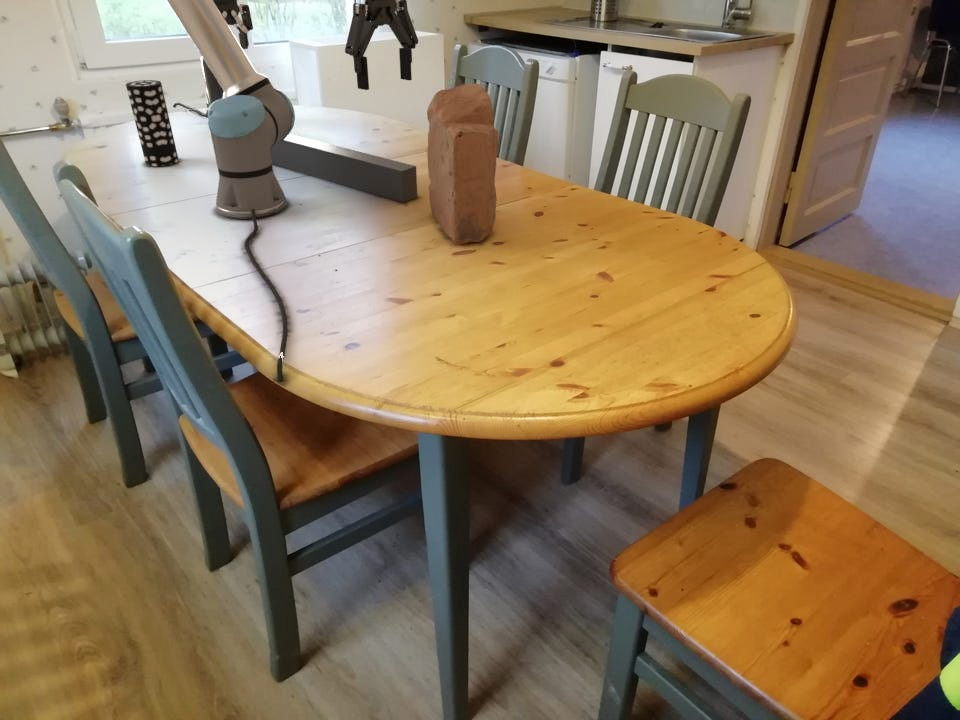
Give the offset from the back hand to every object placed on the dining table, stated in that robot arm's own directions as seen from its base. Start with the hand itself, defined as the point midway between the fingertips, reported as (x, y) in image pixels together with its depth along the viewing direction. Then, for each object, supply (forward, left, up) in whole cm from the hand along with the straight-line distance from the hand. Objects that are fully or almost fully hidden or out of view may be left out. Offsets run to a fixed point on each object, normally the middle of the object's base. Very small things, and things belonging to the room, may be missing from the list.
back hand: (230, 50), depth 180 cm
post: (+27, 0, -27) cm, 38 cm away
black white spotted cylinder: (-11, -20, -16) cm, 28 cm away
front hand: (+56, 0, -1) cm, 56 cm away
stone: (+81, -5, -27) cm, 86 cm away
